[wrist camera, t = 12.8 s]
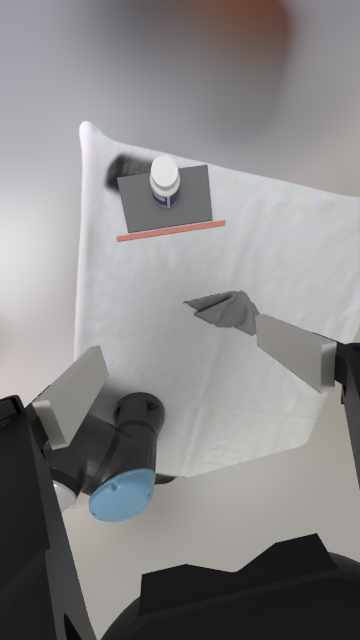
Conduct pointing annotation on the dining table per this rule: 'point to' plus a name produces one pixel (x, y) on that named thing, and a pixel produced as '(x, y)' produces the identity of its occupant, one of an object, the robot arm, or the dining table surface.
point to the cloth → (227, 310)
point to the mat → (151, 216)
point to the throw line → (170, 230)
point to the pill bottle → (165, 181)
